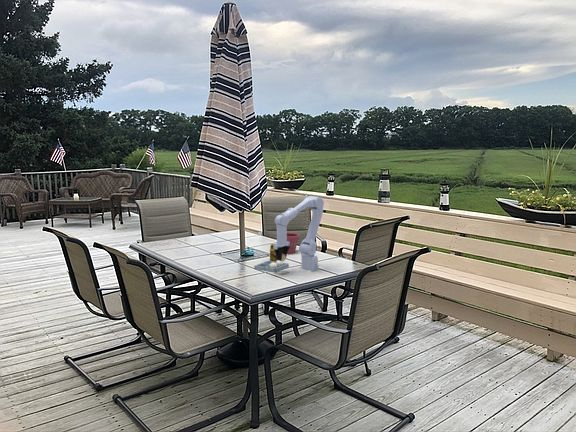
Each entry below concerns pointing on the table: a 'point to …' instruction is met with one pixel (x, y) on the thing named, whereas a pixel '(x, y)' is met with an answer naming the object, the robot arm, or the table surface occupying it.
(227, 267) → the table surface
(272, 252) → the condiment
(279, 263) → the white egg near
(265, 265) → the egg tray
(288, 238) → the plant pot
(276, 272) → the dish
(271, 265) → the white egg left
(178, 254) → the table surface
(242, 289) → the table surface
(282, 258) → the brown egg
